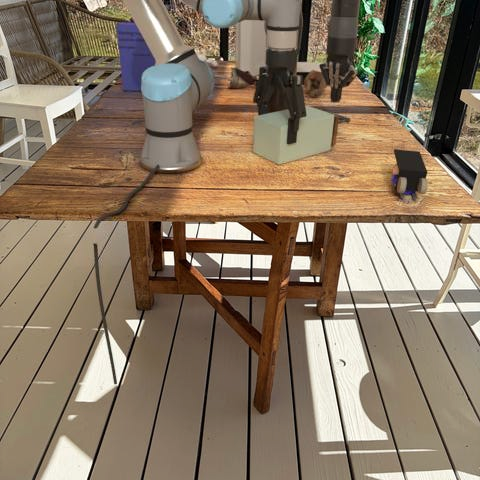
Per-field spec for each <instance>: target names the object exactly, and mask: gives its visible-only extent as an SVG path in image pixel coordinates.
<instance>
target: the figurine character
mask: <svg viewBox="0 0 480 480" xmlns="http://www.w3.org/2000/svg"><path fill="white" fill-rule="evenodd" d="M393 153H394V158H395V161H396V163H395V164H394V166H393V168H392V177H393V178H391V182H392V184H393V185H394V190H396V192H397V193H398V194H399V198H400V199H402V200H403V199H404V194H406V195H409V194H411V197H412V200H414V201H416V200H417V199H418V197H417V193H418V194H420V195H426V194H427V191H428V187H429V180H428V178H427V175H428V170H427V167H426V165H425V162H424V159H423V157H422V154H421V152H420V151H417V150H407V149H397V148H394V149H393Z"/></svg>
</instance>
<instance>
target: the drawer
mask: <svg viewBox="0 0 480 480" xmlns="http://www.w3.org/2000/svg"><path fill="white" fill-rule="evenodd" d="M327 112H328V113H331V114H334V123H333V132H332V140H331V146H336V145H337V136H338V128H339V124H340V125H341V124H343V123H346V124H349V123H350V122H351V118H350V117H347V116H344V115H340V114H338V113H335V112H333V111H332V112H331V111H329V110H328V111H327Z"/></svg>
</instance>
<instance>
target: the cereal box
mask: <svg viewBox="0 0 480 480" xmlns="http://www.w3.org/2000/svg"><path fill="white" fill-rule="evenodd" d="M115 27H116V37H117V45H118V55H119V64H120V73H121V82H122V90H123V91H127V92H128V91H129V92H142V91H141V85H142V79H141V78H142V74H143V72H144V71H145V70H146V69H148V68H150V67H152V66H155V63H156V61H155V58H154V56H153V54H152V53H151V51H150V49H149V47H148V45H147V43H146V42H145V40H144V38H143V36H142V34H141V32H140V31H139V29H138V27H137V25H136V23H135V22H125V21H124V22H123V21H119V22H116V24H115Z"/></svg>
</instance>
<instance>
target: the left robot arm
mask: <svg viewBox="0 0 480 480" xmlns="http://www.w3.org/2000/svg"><path fill="white" fill-rule="evenodd" d="M122 2H123V3H124V5H125V7H126V9H127V10H128V12H129V14H130V16H131V18H132V19H133V22H134V23H136V25H137V27H138V29H139V31H140V32H141V34H142V36H143V38H144V40H145V42H146V43H147V45H148V47H149V49H150V51H151V53H152V54H153V56H154V58H155V61H156V63H155V66H152V67H150V68H148V69H146V70H145V71H144V72H143V74H142V78H141V79H142V85H141V91H140V92H141V95H142V97H141V98H142V106H143V115H144V125H145V126H144V127H145V138H144V142H143V146H142V150H141V154H140V162H141V166H142V168H144V169H145V170H146V171H149V172H150V173H149V174H148V175H147V177H146V178H145V179H144V180H143V182H142V183H141V184H139V185H138V187H137V188H135V189H133V191H130V193H129V194H128V195H127V196H126V198H125V200H124V201H123V204H122V206H121V207H120V208H119V209H117V210H116V209H115V210H114V211H110V212H107V213H104V214H103V215H101V216H99V218H98V219H96V222H95V223H94V226H93V229H97V228H99V226H100V224H101V222H102V221H103V220H104V219H106V218H108V217H112V216H115V215H118V214H121V213H122V212H123V211H125V209H126V208H127V207H128V205H129V202H130V199H131V198H133V196H134V195H135V194H137V193H138V192H139V191H141V190H142V189H143V188H144V187H145V185H147V183H148V182H149V181H150V179H151V178H152V176H153V175H154V174H155V173H156V174H163V175H164V174H165V175H169V174H170V175H172V174H173V175H175V174H182V173H187V172H190V171H193V170H195V169H197V168H198V167H199V166H201V163H202V155H201V151H200V149H199V146H198V143H197V141H196V137H195V135H194V130H193V129H194V126H193V112H194V111H195V110H196V109H197V108H199V107H200V106H202V105H204V104H206V102H207V101H208V99H209V98H210V97H211V95H212V94H213V92H214V89H215V78H214V75H215V74H214V72H213V70H212V68H211V67H210V65H209V64H208V63H205V62H204V61H202V60H200V59H199V58H198V56H197V54H196V53H197V52H196V51H195V49H194V47H193V46H190V45H187V44H186V43H185V42H184V40H183V38H182V36H181V34H180V32H179V30H178V28H177V27H176V25H175V23H174V21H173V19H172V17H171V15H170V13H169V11H168V8H166V6H165V4H164V1H163V0H122ZM178 2H181V3H182V4H184V5H186V6H187V7H189V8H191V9H192V10H194V11H196V12H198V13H199V14H201V15H202V16H203V17H204V19H205V20H206V22H207V23H208V24H209V25H210V26H212V27H213V28H215V29H216V28H217V29H227V28H231V27H234V26H236V23H239V22H241V21H244V20H260V21H267V36H266V46H267V47H268V49H267V50H266V65H267V66H265V67H260V68H259V75H258V82H257V86H255V91H254V94H253V98H252V102H253V103H254V104H256V106H257V116H258V115H263V114H268V113H269V107H268V106H266V105H269V104H268V101H269V99H270V98H271V96H272V94H273V92H274V90H275V88H278V89H280V90H281V93H283V94H284V98H285V101H286V104H287V107H288V110H289V113H290V116H291V117H290V118H288V130H287V144H292V143H296V142H297V131H298V130H299V121H300V118H303V117H306V115H307V114H306V107H305V106H306V101H305V94H304V88H303V85H302V83H303V76H302V75H298V76H297V75H294V72H293V68H294V66H295V65H296V61H297V62H298V59H297V51H296V49H295V48H296V47H297V44H298V29H299V17H300V10H301V7H302V6H301V5H302V0H178ZM288 86H289V88H288ZM294 112H295V113H296V114H295V113H294ZM92 246H93V257H94V271H95V281H96V290H97V296H98V302H99V309H100V315H101V320H102V321H101V322H102V324H103V331H104V336H105V341H106V346H107V353H108V357H109V361H110V368H111V373H112V380H113V384H114V385H117V384H118V380H117V374H116V368H115V362H114V355H113V351H112V344H111V339H110V335H109V329H108V324H107V319H106V318H107V317H106V313H105V307H104V300H103V294H102V286H101V277H100V267H99V249H98V243H94V242H93V245H92Z"/></svg>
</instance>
